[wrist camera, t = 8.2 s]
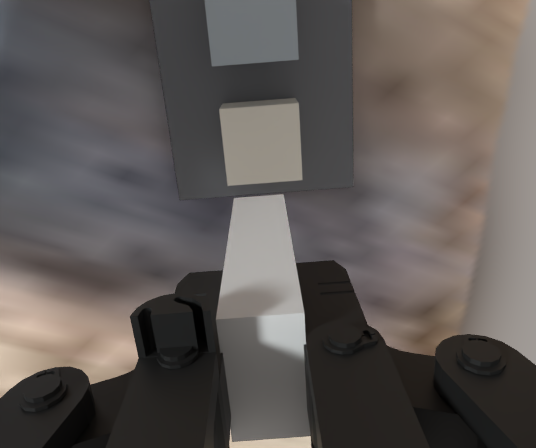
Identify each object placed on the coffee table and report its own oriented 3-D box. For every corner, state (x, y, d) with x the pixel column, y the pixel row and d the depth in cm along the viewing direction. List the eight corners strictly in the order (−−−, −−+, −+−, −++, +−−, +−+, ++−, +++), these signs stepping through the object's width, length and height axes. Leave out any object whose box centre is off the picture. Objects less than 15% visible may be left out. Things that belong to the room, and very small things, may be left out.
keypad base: (184, 191, 34) (179, 200, 32) (128, -185, 26) (118, -203, 24) (347, 179, 34) (353, 186, 32) (343, -203, 26) (350, -223, 24)
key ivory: (231, 166, 33) (227, 185, 28) (224, 99, 31) (219, 109, 27) (296, 161, 33) (302, 180, 28) (292, 94, 31) (298, 103, 26)
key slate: (219, 62, 29) (212, 66, 24) (210, -20, 27) (200, -32, 23) (292, 57, 29) (298, 59, 24) (288, -26, 27) (294, -40, 23)
